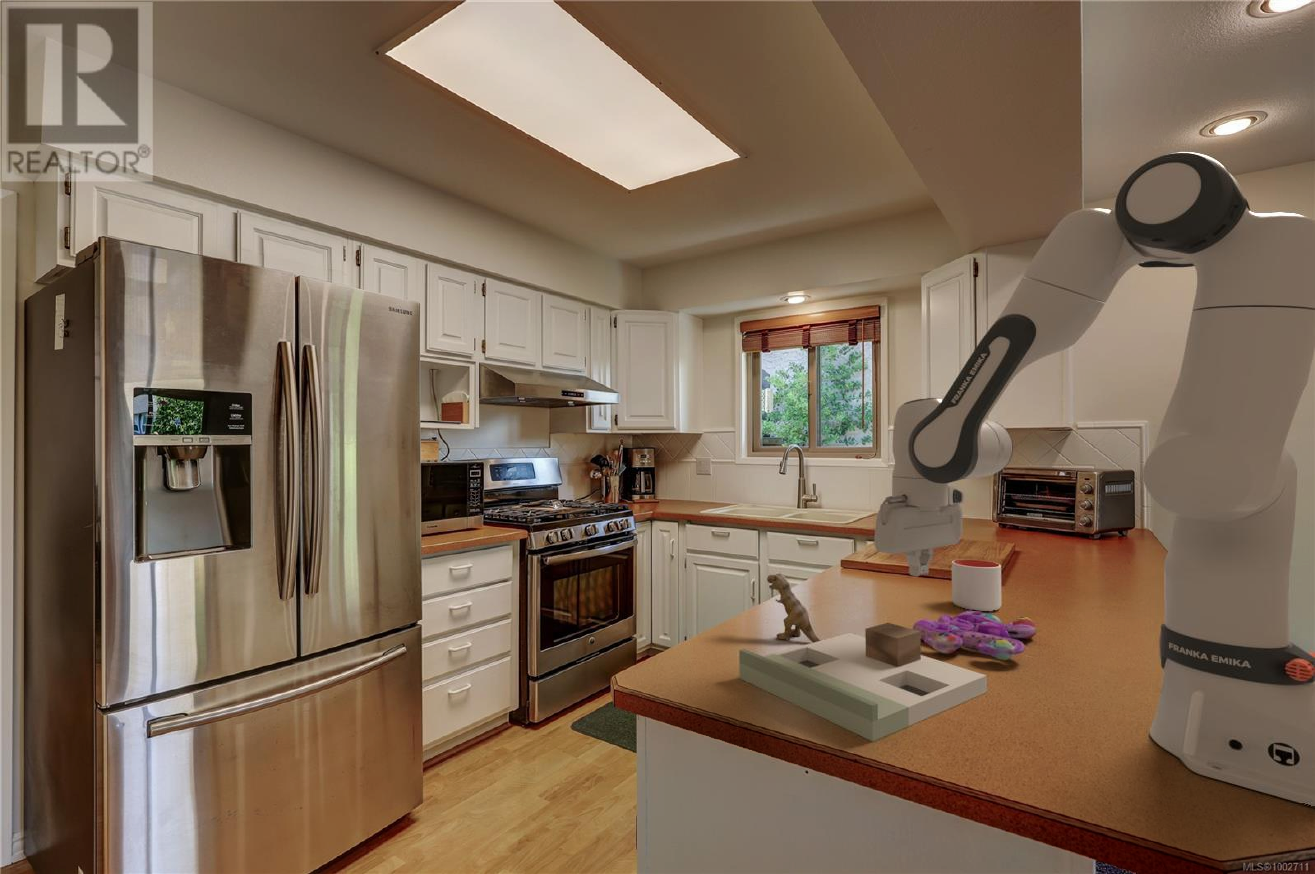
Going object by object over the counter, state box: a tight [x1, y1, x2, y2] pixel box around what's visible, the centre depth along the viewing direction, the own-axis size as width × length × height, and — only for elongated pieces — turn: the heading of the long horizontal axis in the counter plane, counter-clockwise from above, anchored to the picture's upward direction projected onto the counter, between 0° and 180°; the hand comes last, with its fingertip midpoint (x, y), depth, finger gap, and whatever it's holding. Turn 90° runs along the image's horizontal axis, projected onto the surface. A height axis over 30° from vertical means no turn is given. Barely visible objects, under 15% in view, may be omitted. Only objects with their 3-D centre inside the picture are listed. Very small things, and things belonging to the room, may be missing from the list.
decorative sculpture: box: [912, 610, 1037, 661], centre depth 114 cm, size 29×5×20 cm
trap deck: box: [738, 632, 988, 742], centre depth 94 cm, size 25×27×4 cm
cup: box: [951, 558, 1002, 612], centre depth 139 cm, size 10×10×10 cm
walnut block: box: [864, 622, 922, 667], centre depth 99 cm, size 6×6×4 cm
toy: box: [766, 572, 822, 643], centre depth 116 cm, size 7×17×10 cm
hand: (918, 574), depth 104 cm, fingers closed
